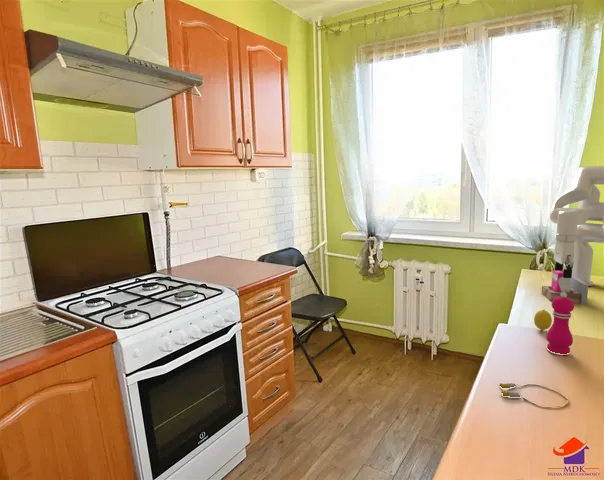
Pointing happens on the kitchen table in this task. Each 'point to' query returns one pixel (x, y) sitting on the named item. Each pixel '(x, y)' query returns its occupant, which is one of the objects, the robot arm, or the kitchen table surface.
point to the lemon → (542, 320)
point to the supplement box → (560, 282)
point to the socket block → (551, 294)
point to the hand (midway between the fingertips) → (562, 274)
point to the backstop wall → (580, 288)
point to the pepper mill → (560, 325)
